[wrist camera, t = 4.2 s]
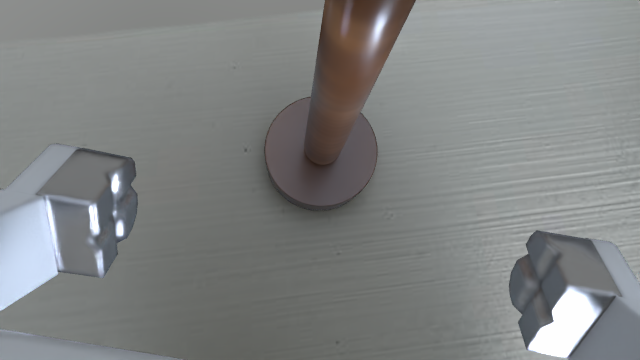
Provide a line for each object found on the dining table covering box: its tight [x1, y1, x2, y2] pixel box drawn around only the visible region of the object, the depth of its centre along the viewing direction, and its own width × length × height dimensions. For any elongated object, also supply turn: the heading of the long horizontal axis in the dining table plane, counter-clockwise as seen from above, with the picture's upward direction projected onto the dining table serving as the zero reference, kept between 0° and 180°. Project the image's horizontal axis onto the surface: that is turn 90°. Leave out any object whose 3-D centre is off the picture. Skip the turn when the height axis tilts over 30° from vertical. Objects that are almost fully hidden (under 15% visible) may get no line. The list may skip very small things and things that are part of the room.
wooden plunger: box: [265, 0, 416, 211], centre depth 16 cm, size 6×6×21 cm
